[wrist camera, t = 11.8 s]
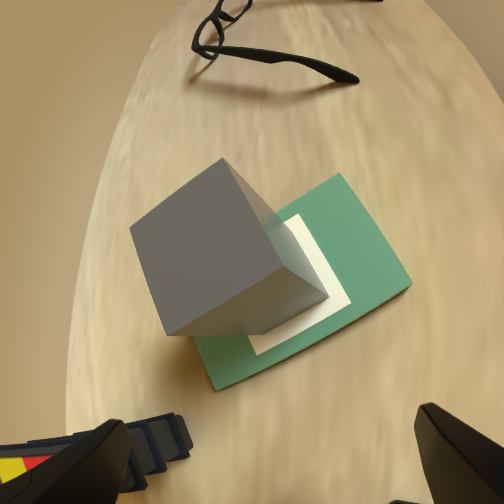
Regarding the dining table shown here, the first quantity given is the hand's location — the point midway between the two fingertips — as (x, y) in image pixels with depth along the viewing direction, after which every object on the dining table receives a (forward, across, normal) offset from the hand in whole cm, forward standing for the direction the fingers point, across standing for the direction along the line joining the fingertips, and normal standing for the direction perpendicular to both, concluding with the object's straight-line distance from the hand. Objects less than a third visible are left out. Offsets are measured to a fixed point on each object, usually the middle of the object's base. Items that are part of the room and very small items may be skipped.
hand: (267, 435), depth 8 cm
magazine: (+11, +12, +13) cm, 21 cm away
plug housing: (+14, 0, 0) cm, 14 cm away
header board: (+15, -1, +1) cm, 15 cm away
